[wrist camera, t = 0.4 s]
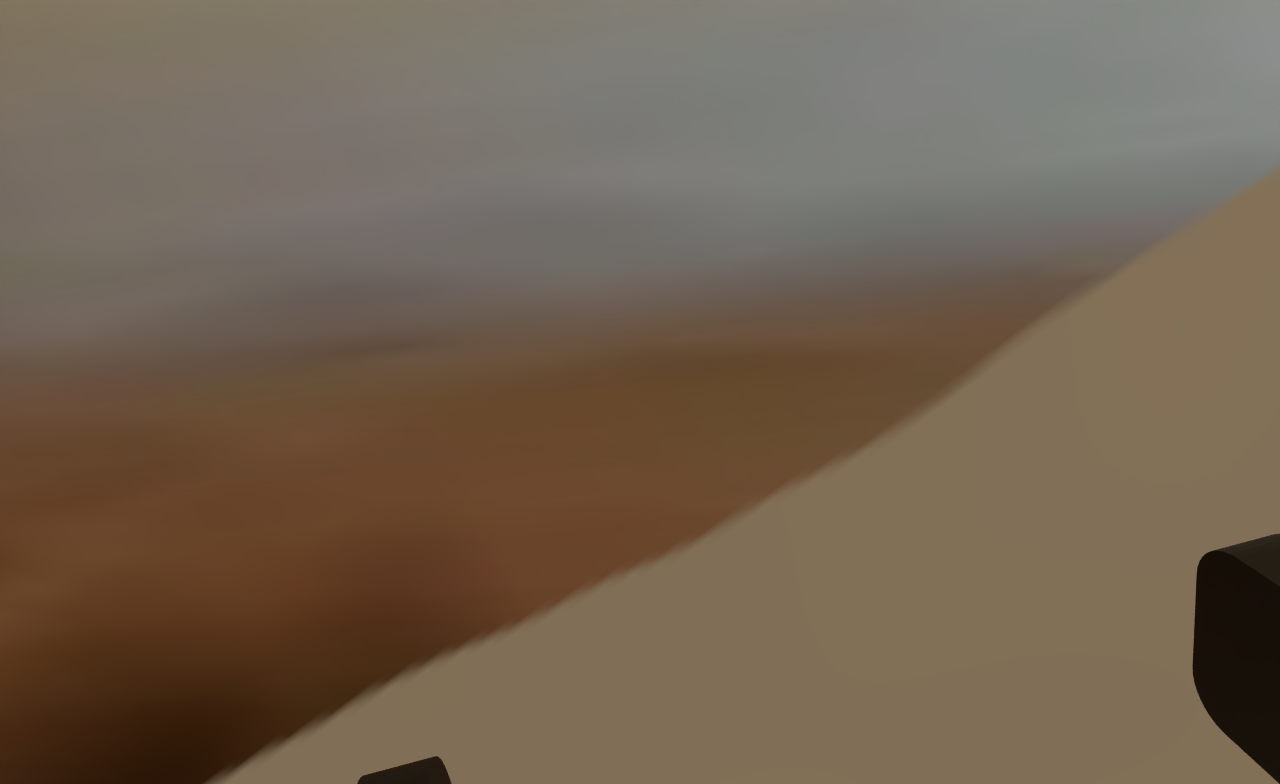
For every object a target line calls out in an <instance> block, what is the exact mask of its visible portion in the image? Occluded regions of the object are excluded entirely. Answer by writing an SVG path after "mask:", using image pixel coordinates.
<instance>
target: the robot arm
mask: <svg viewBox="0 0 1280 784" xmlns="http://www.w3.org/2000/svg"><path fill="white" fill-rule="evenodd" d="M1194 626H1195V627H1194V648H1193V677H1194V682H1195V686H1196V689H1197V692H1198V694H1199V697H1200V699H1201V701H1202V703H1203V705H1204V707H1205V709H1206V710H1207V712H1208V714H1209V715H1210V717H1211V718H1212V719H1213V721H1214V722H1215V723H1216V725H1217V726H1218V727H1219V728H1220V729H1221V730H1222V731H1223V732H1224V733H1225V734H1226V735H1227V736H1228V737H1229V738H1230V739H1231V740H1232V741H1233V742H1234V743H1236V744H1237V745H1238V746H1239V747H1240V748H1241V749H1242V750H1243V751H1244V752H1245V753H1247V754H1248V755H1249V756H1250V757H1251V758H1252V759H1253V760H1254V761H1255V762H1256V763H1257V764H1259V765H1260V766H1261V767H1262V768H1263V769H1264V770H1265V771H1266V772H1267V773H1269V775H1271V776H1272V777H1273V778H1274V779H1275V780H1276V781H1277V782H1278V783H1279V784H1280V534H1274V535H1270V536H1266V537H1262V538H1259V539H1255V540H1251V541H1247V542H1244V543H1240V544H1236V545H1232V546H1229V547H1225V548H1221V549H1218V550H1214V551H1211V552H1208V553H1206V554H1205V555H1204V556H1203V557H1202V559H1201V560H1200V562H1199V565H1198V568H1197V580H1196V604H1195V625H1194ZM358 784H451V781H450V778H449V775H448V773H447V770H446V768H445V765H444V764H443V762H442V760H441V759H440V758H439V757H437V756H435V757H432V758H427V759H424V760H420V761H416V762H413V763H409V764H405V765H401V766H398V767H394V768H390V769H386V770H383V771H379V772H375V773H372V774H368V775H364V776H362V777H361V778H360V779H359V781H358Z"/></svg>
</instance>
